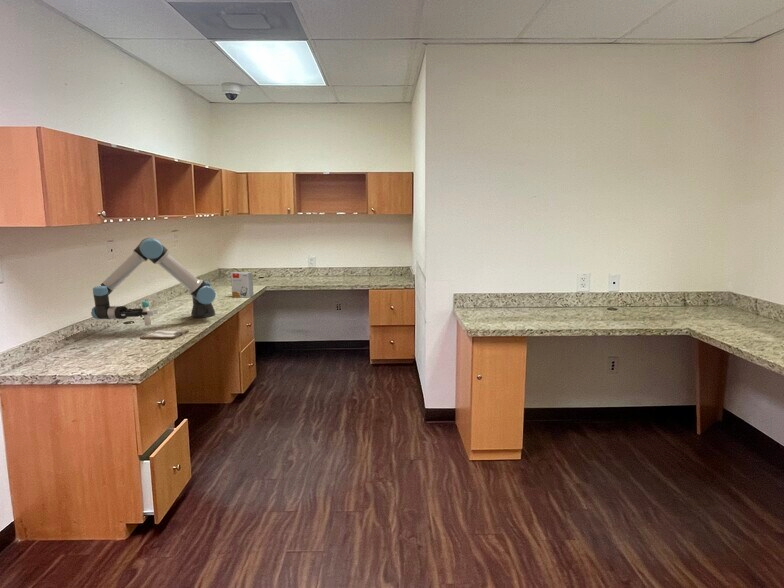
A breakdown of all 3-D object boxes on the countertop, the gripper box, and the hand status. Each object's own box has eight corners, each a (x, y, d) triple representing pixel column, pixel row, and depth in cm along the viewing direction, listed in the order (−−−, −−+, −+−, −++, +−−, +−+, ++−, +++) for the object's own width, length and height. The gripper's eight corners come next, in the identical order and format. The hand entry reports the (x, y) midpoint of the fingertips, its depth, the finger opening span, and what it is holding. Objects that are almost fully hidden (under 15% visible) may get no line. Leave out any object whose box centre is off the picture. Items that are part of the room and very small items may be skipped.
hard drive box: (231, 297, 404) (229, 273, 401) (236, 295, 412) (234, 271, 408) (249, 297, 401) (247, 273, 397) (254, 296, 408) (252, 271, 405)
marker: (147, 324, 295) (144, 301, 293) (152, 324, 295) (149, 301, 292) (143, 325, 292) (140, 302, 290) (148, 325, 292) (145, 302, 289)
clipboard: (157, 331, 296) (157, 328, 295) (188, 332, 293) (188, 328, 292) (140, 338, 280) (139, 335, 280) (173, 339, 277) (172, 335, 277)
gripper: (128, 315, 303) (164, 315, 300) (109, 322, 288) (147, 322, 284) (126, 303, 302) (162, 303, 298) (107, 309, 286) (145, 309, 283)
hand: (155, 312), depth 291 cm, fingers closed on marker, 3 cm apart
